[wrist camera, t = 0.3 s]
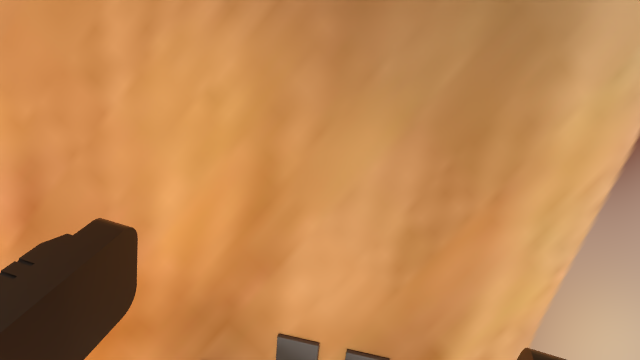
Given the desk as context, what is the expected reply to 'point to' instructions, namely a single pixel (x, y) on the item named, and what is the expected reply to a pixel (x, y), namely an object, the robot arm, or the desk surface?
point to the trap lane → (310, 350)
